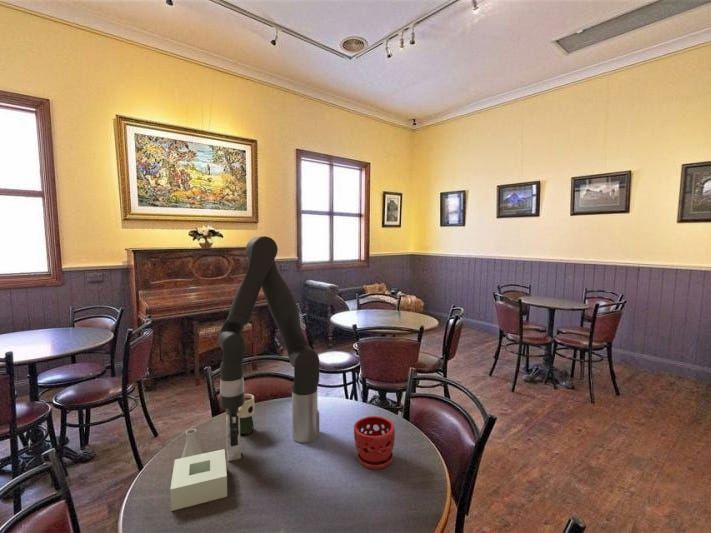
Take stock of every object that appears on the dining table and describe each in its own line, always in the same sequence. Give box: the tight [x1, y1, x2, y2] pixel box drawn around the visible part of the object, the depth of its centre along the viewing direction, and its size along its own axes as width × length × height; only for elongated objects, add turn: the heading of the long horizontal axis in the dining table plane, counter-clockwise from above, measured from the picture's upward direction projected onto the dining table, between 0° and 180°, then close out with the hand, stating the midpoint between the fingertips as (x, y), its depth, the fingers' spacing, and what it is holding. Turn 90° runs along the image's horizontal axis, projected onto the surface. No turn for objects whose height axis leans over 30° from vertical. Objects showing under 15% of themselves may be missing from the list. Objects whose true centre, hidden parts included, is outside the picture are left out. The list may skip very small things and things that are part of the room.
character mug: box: [239, 393, 256, 435], centre depth 134 cm, size 11×7×13 cm, turn 178°
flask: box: [180, 428, 204, 458], centre depth 116 cm, size 7×7×10 cm
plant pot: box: [353, 415, 396, 470], centre depth 115 cm, size 13×13×12 cm
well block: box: [169, 448, 228, 512], centre depth 103 cm, size 14×14×6 cm
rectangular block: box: [225, 414, 242, 462], centre depth 118 cm, size 4×4×14 cm
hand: (233, 438), depth 118 cm, fingers open, 8 cm apart
